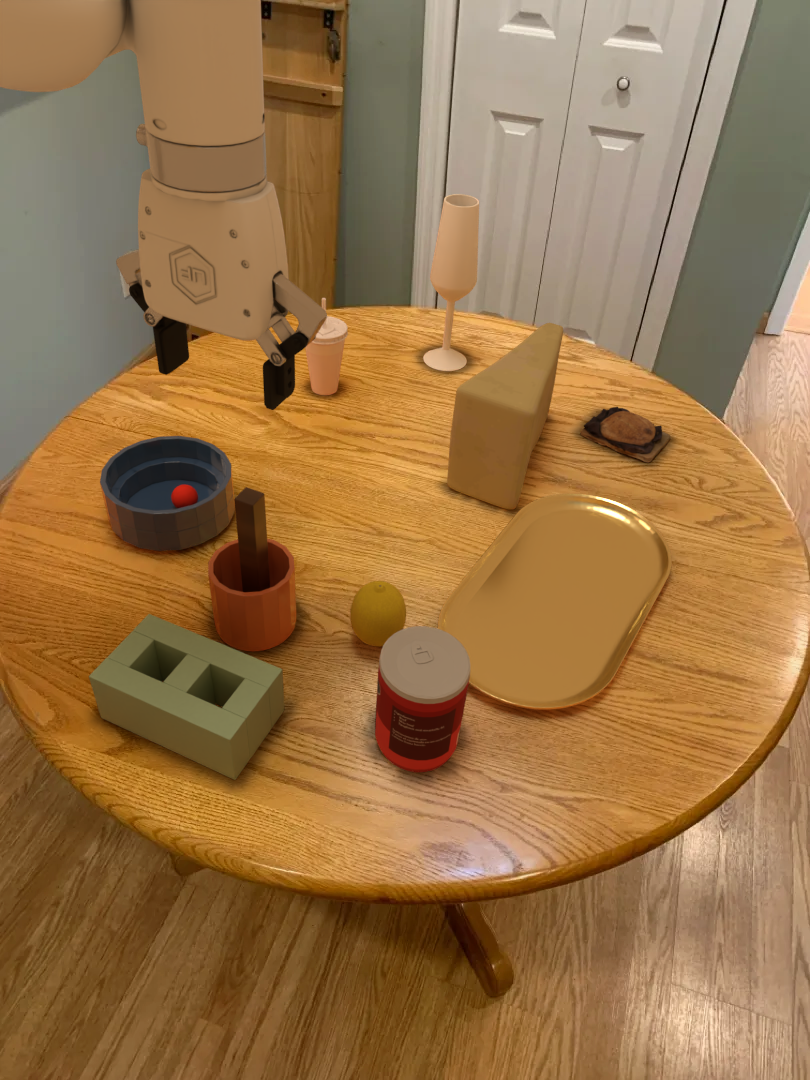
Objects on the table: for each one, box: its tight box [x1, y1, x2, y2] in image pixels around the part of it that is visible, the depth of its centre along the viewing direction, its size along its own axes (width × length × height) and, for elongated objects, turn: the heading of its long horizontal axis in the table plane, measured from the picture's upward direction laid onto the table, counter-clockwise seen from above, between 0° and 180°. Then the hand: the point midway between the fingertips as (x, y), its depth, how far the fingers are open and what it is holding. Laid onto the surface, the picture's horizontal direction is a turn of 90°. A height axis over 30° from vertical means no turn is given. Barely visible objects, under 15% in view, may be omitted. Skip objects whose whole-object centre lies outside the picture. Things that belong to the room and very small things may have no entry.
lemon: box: [349, 580, 407, 647], centre depth 83 cm, size 6×6×8 cm
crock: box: [207, 538, 297, 652], centre depth 84 cm, size 8×8×8 cm
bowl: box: [99, 435, 236, 552], centre depth 97 cm, size 14×14×6 cm
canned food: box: [374, 625, 470, 773], centre depth 74 cm, size 8×8×11 cm
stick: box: [234, 486, 270, 592], centre depth 81 cm, size 2×2×16 cm
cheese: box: [446, 322, 564, 510], centre depth 106 cm, size 22×10×15 cm, turn 152°
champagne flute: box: [422, 193, 480, 372], centre depth 121 cm, size 7×7×24 cm
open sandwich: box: [579, 406, 671, 464], centre depth 115 cm, size 11×8×4 cm
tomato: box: [171, 485, 198, 508], centre depth 98 cm, size 3×3×3 cm
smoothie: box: [304, 297, 349, 396], centre depth 116 cm, size 6×6×14 cm
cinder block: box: [88, 613, 286, 781], centre depth 76 cm, size 8×14×6 cm, turn 65°
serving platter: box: [437, 493, 673, 711], centre depth 92 cm, size 19×35×2 cm, turn 149°
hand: (225, 383), depth 67 cm, fingers open, 9 cm apart
